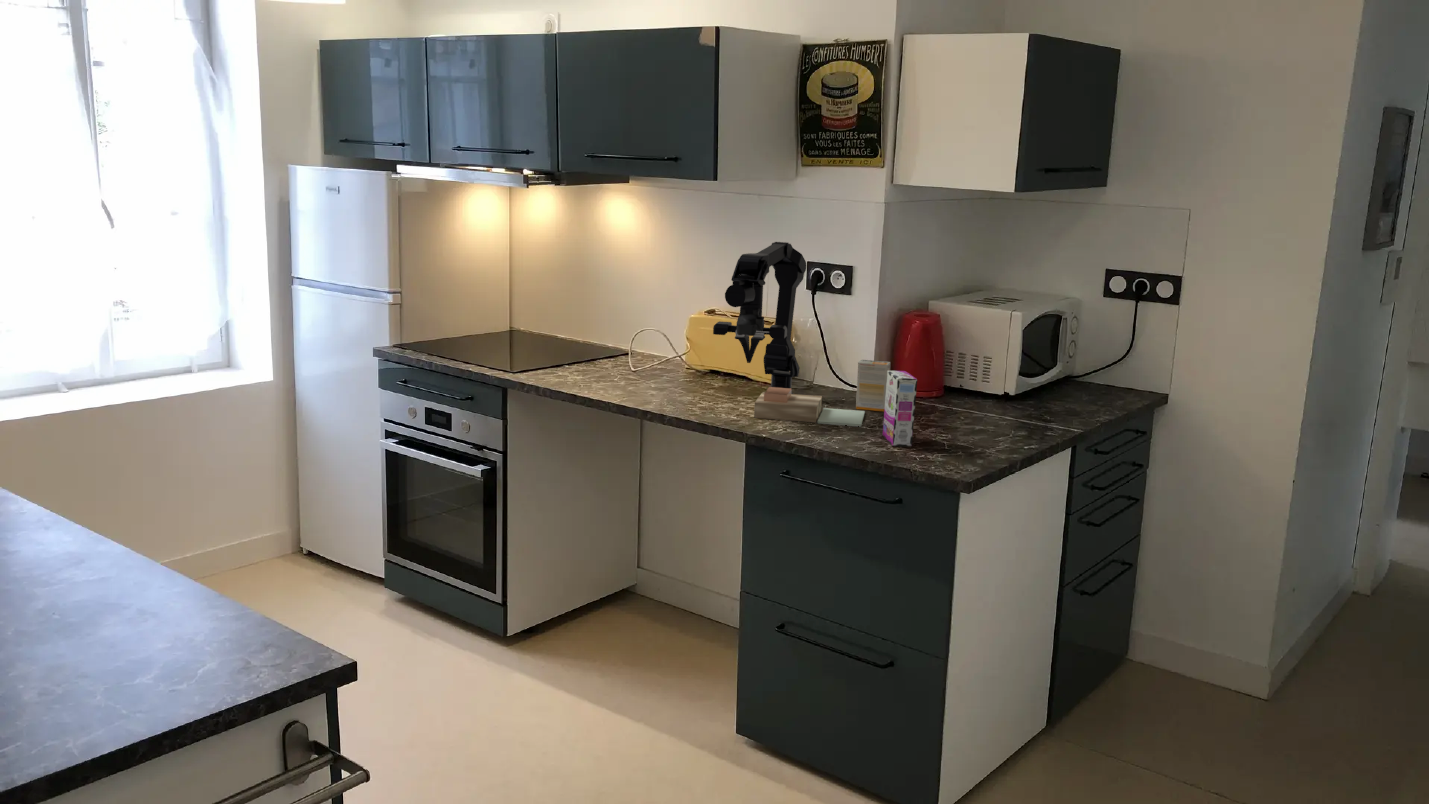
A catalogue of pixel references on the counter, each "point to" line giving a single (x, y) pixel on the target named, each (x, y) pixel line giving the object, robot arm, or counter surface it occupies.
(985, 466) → the counter surface
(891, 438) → the candy bar box
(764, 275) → the robot arm
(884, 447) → the counter surface
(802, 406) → the board
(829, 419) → the mat
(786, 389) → the tile
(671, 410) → the counter surface
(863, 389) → the supplement box
